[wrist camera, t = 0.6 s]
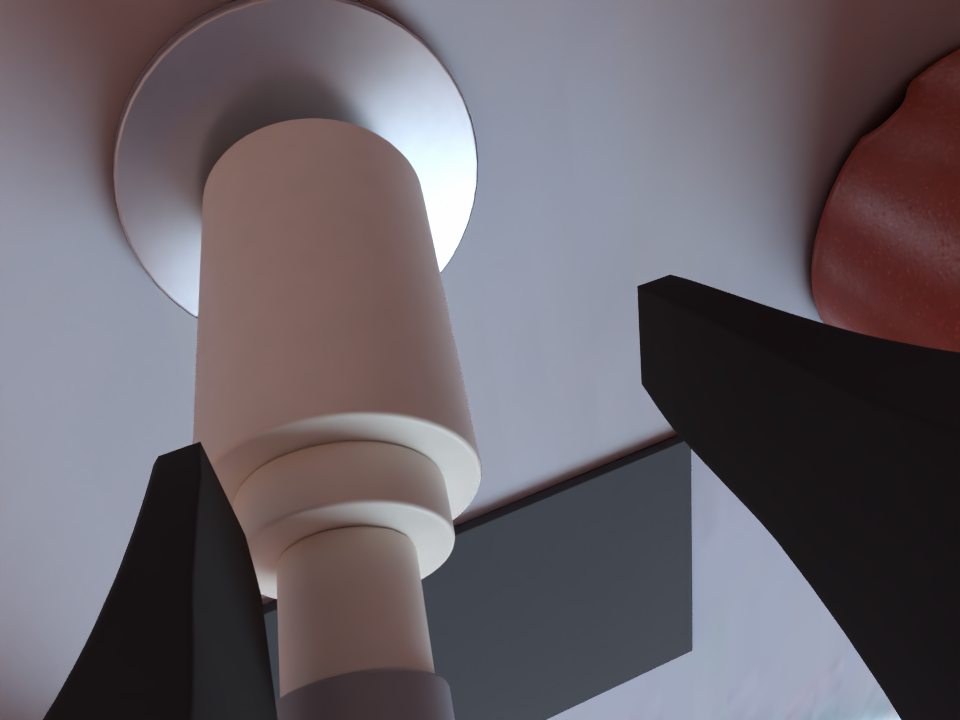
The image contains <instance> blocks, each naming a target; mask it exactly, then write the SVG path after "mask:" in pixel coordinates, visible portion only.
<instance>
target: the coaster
mask: <svg viewBox="0 0 960 720" xmlns="http://www.w3.org/2000/svg"><path fill="white" fill-rule="evenodd" d="M305 118H321V119H331V120H338V121H342V122H347V123H351V124H354V125H357V126H360V127H363V128H365V129H367V130H370V131H372V132H374V133H376V134H378V135H379V136H381V137H382V138H384V139H385V140H387V141H389V142H390V143H391V144H392V145H393V146H395V147H396V148H397V149H398V150H399V151H400V152H401V153H402V154H403V155H404V156H405V157H406V158H407V160H408V161H409V162H410V164H411V165H412V167H413V168H414V170H415V172H416V174H417V176H418V178H419V181H420V184H421V188H422V191H423V196H424V200H425V205H426V210H427V214H428V219H429V224H430V228H431V233H432V238H433V242H434V247H435V252H436V256H437V261H438V266H439V270H440V273H441V272H442V271H443V269H444V268H445V266H446V265H447V264H448V262H449V261H450V259H451V258H452V256H453V254H454V252H455V251H456V249H457V247H458V245H459V244H460V242H461V240H462V237H463V235H464V232H465V230H466V227H467V225H468V223H469V219H470V216H471V212H472V209H473V205H474V201H475V194H476V188H477V181H478V154H477V145H476V137H475V132H474V128H473V124H472V120H471V116H470V113H469V111H468V108H467V105H466V103H465V100H464V98H463V95H462V93H461V92H460V90H459V88H458V86H457V84H456V82H455V81H454V79H453V77H452V75H451V74H450V73H449V71H448V70H447V68H446V67H445V66H444V64H443V63H442V62H441V60H440V59H439V58H438V56H437V55H436V54H435V53H434V52H433V51H432V50H431V49H430V48H429V47H428V46H427V45H426V44H425V43H424V42H423V41H422V40H421V39H420V38H418V37H417V36H416V35H414V34H413V33H412V32H411V31H409V30H408V29H407V28H405V27H404V26H403V25H401V24H400V23H399V22H397V21H395V20H394V19H392V18H390V17H388V16H387V15H385V14H383V13H382V12H380V11H378V10H376V9H374V8H372V7H369V6H367V5H364V4H362V3H359V2H357V1H354V0H237V1H234V2H231V3H228V4H225V5H222V6H220V7H218V8H216V9H214V10H212V11H210V12H208V13H206V14H204V15H202V16H200V17H199V18H197V19H196V20H195V21H193V22H192V23H190V24H189V25H187V26H186V27H184V28H183V29H182V30H180V31H179V32H177V33H176V34H175V35H174V36H173V37H172V38H171V39H170V40H169V41H168V42H167V43H166V44H165V45H164V46H163V47H162V48H160V49H159V50H158V52H157V53H156V54H155V55H154V57H153V58H152V59H151V60H150V62H149V63H148V64H147V66H146V67H145V68H144V69H143V71H142V72H141V74H140V76H139V77H138V79H137V81H136V83H135V84H134V86H133V88H132V90H131V91H130V93H129V96H128V98H127V101H126V103H125V106H124V108H123V111H122V114H121V116H120V120H119V124H118V129H117V133H116V138H115V142H114V156H113V180H114V192H115V201H116V205H117V209H118V214H119V218H120V222H121V225H122V228H123V230H124V233H125V235H126V238H127V240H128V243H129V245H130V247H131V249H132V251H133V252H134V254H135V256H136V258H137V259H138V261H139V263H140V265H141V266H142V267H143V269H144V270H145V271H146V273H147V274H148V275H149V277H150V278H151V279H152V281H153V282H154V283H155V284H156V285H157V286H158V287H159V288H160V289H161V290H162V291H163V292H164V293H165V294H166V295H167V296H168V297H169V298H170V299H171V300H172V301H173V302H174V303H176V304H177V305H178V306H180V307H181V308H182V309H184V310H185V311H186V312H187V313H189V314H190V315H192V316H194V317H196V318H197V319H198V305H199V280H200V255H201V230H202V205H203V194H204V188H205V185H206V182H207V179H208V176H209V174H210V172H211V171H212V169H213V167H214V165H215V164H216V163H217V161H218V160H219V159H220V158H221V156H222V155H223V154H224V153H225V152H226V151H227V150H228V149H229V148H230V147H231V146H233V145H234V144H235V143H236V142H238V141H239V140H241V139H242V138H244V137H245V136H247V135H249V134H251V133H253V132H254V131H256V130H258V129H261V128H264V127H266V126H269V125H272V124H275V123H279V122H284V121H288V120H296V119H305Z"/></svg>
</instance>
